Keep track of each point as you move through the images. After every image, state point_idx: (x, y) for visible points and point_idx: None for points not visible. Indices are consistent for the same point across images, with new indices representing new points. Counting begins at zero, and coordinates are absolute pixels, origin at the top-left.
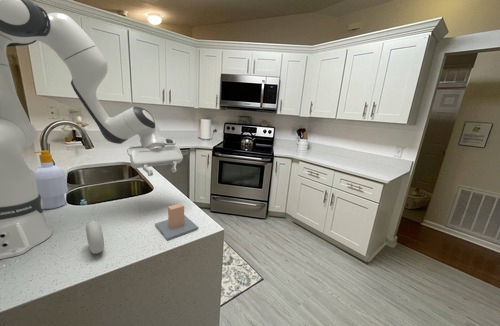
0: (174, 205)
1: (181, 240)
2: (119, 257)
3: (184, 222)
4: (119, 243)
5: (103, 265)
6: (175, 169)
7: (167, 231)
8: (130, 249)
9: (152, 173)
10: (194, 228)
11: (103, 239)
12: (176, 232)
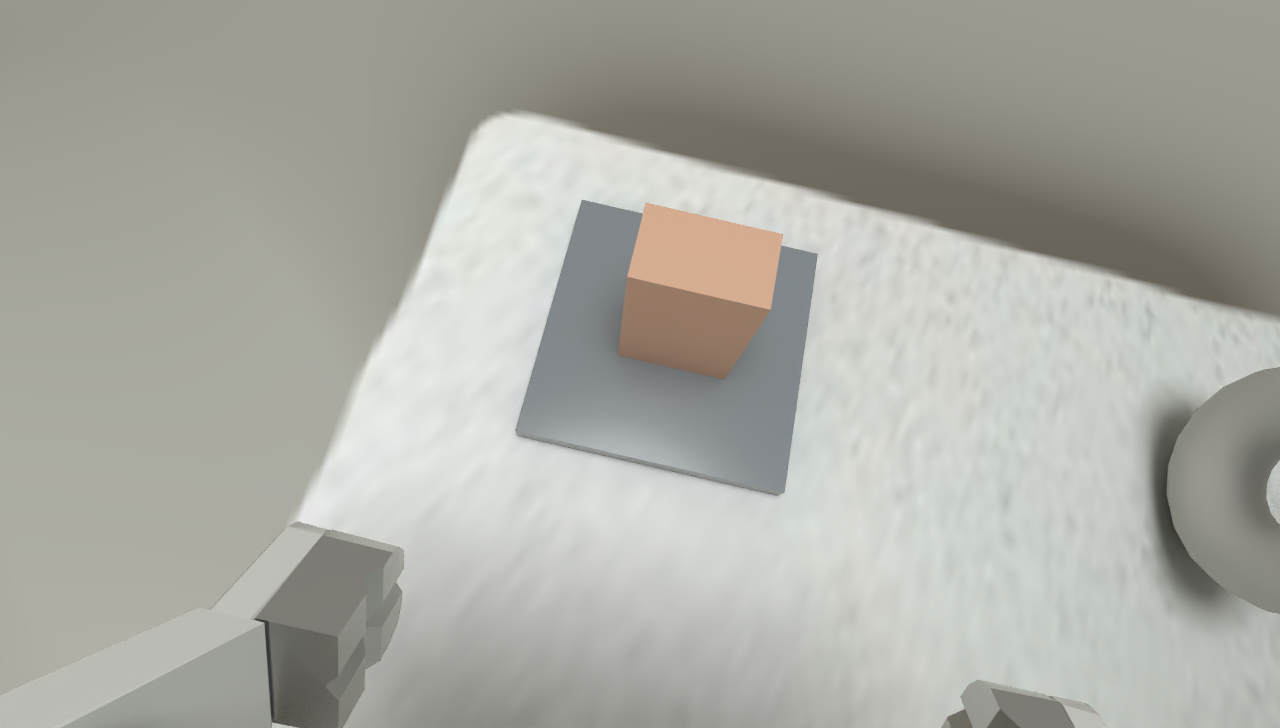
0: (706, 282)
1: (744, 204)
2: (1084, 338)
3: (606, 323)
4: (1054, 473)
5: (1163, 339)
6: (311, 535)
7: (774, 318)
8: (1016, 359)
9: (998, 690)
10: (614, 207)
11: (1255, 386)
12: None
